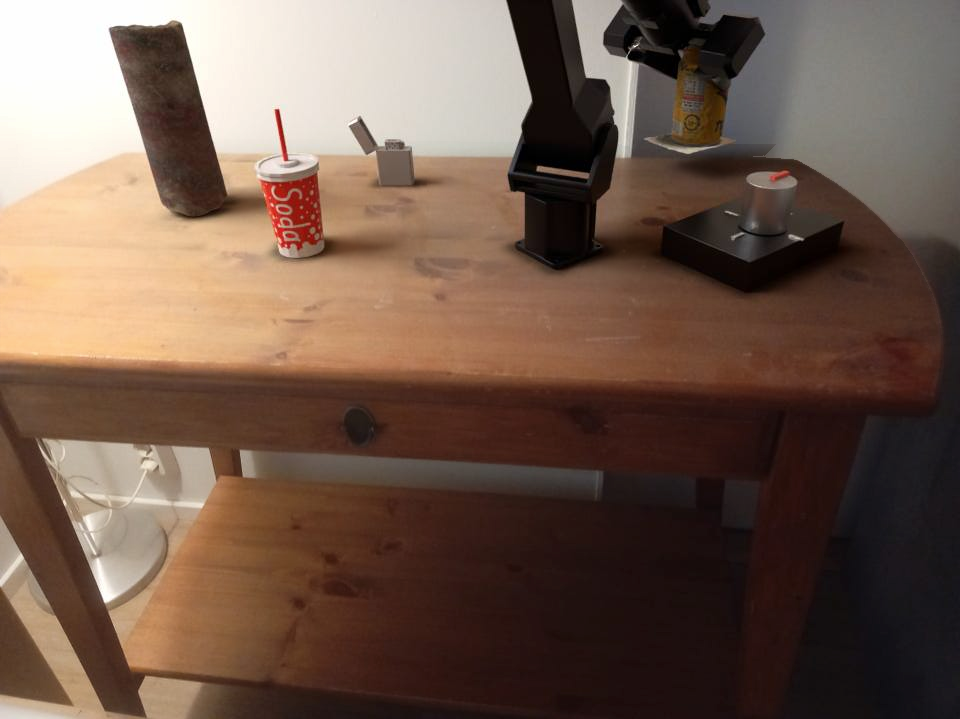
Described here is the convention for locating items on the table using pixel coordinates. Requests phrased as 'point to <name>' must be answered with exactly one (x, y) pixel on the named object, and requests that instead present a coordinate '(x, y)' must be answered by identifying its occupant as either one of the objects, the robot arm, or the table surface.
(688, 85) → the condiment
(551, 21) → the robot arm
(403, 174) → the lighter
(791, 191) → the hob knob
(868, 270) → the table surface
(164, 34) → the rough stone core
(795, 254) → the hob panel
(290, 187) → the beverage cup
